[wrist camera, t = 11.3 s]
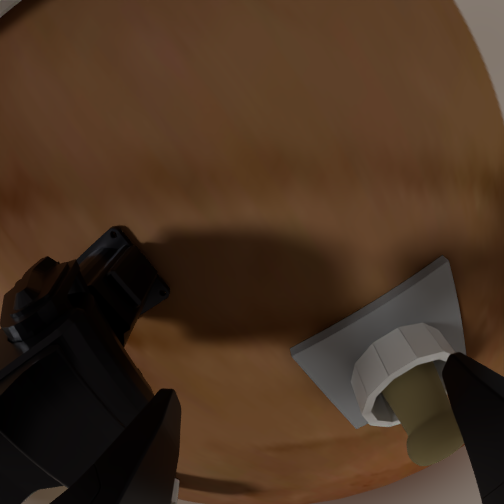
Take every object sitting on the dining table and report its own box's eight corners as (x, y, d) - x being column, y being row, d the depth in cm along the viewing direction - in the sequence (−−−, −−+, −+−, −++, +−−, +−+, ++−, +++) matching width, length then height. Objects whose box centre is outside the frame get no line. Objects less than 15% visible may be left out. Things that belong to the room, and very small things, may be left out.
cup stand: (354, 422, 29) (364, 455, 25) (290, 348, 24) (298, 393, 19) (463, 358, 26) (482, 386, 22) (442, 255, 21) (476, 284, 16)
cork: (435, 354, 24) (485, 435, 14) (390, 391, 26) (425, 477, 16) (410, 328, 22) (469, 424, 12) (359, 371, 24) (396, 473, 14)
